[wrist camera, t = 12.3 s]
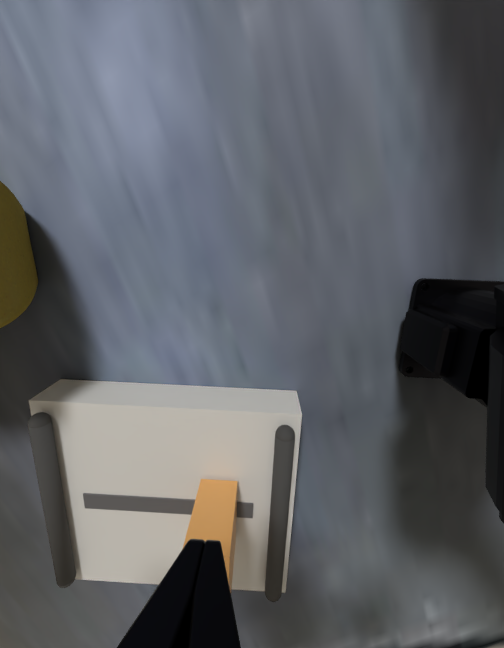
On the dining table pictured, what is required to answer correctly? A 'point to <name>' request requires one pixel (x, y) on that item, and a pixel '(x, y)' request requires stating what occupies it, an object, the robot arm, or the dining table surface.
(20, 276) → the flower pot
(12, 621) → the dining table surface
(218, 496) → the handle
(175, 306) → the dining table surface
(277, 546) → the pair of mounting rails
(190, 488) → the box
